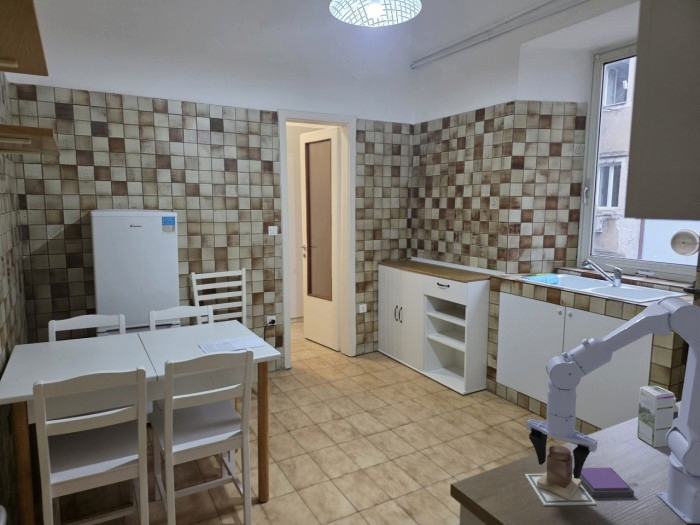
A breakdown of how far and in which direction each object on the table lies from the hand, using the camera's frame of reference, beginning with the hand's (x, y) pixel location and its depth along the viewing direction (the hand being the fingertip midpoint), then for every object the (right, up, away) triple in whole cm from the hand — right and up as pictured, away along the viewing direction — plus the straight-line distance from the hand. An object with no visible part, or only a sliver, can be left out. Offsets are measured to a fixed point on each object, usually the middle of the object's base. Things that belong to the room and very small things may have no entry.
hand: (559, 469), depth 102 cm
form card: (0, -5, +1) cm, 5 cm away
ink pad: (+11, -4, +2) cm, 12 cm away
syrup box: (+34, -2, +20) cm, 40 cm away
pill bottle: (+41, -1, +25) cm, 49 cm away
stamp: (0, -4, +1) cm, 4 cm away
